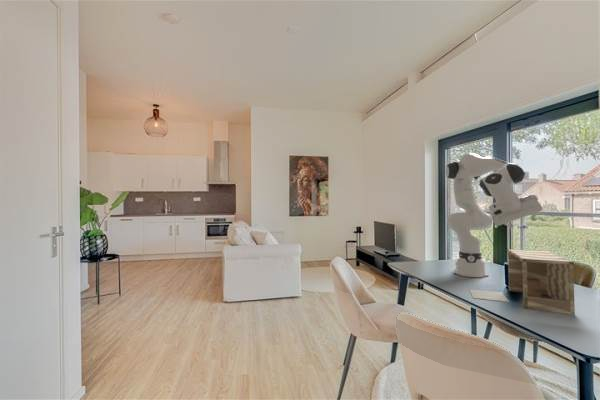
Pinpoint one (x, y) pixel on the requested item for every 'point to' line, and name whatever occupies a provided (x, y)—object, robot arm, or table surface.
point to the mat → (488, 295)
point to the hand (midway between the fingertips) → (522, 223)
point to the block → (533, 287)
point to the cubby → (543, 279)
